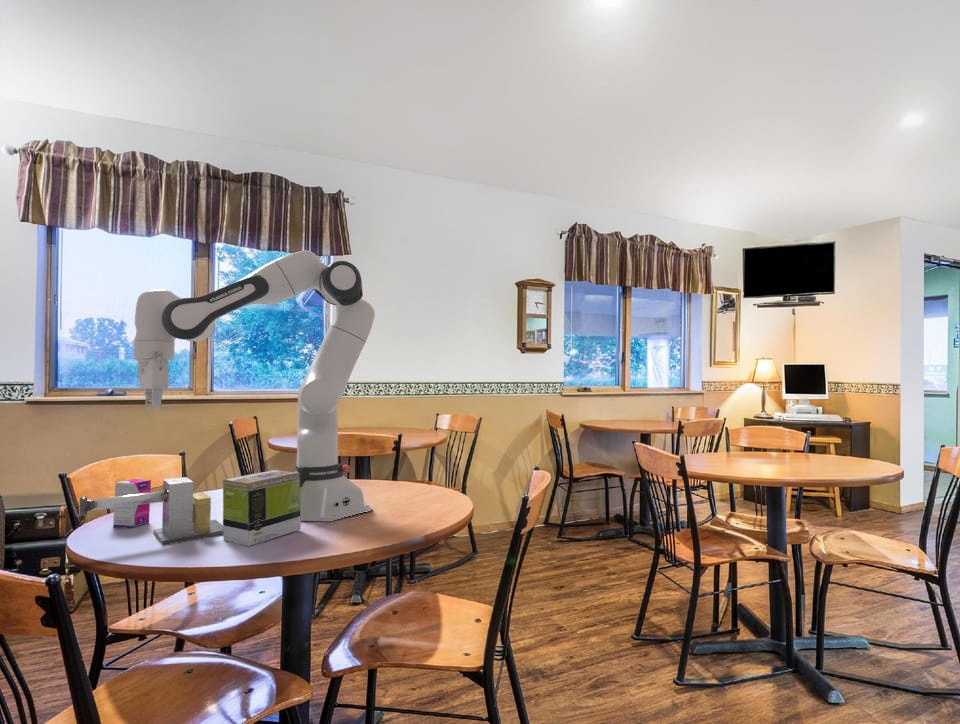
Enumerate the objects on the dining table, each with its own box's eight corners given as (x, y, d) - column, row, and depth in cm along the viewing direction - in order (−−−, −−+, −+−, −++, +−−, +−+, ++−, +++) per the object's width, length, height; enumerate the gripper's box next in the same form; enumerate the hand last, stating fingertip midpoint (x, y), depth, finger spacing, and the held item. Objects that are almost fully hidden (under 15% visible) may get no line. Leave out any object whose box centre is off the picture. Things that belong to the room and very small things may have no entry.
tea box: (275, 525, 136) (275, 468, 136) (301, 531, 131) (302, 472, 131) (221, 540, 123) (222, 477, 123) (247, 547, 118) (248, 481, 118)
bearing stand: (215, 523, 137) (216, 472, 138) (228, 533, 128) (229, 479, 129) (153, 533, 128) (154, 479, 129) (162, 545, 119) (163, 486, 120)
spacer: (202, 523, 133) (202, 492, 134) (210, 530, 127) (210, 497, 128) (189, 525, 132) (189, 493, 132) (196, 532, 125) (197, 499, 126)
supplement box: (131, 528, 133) (133, 483, 133) (112, 527, 134) (113, 482, 134) (150, 522, 138) (151, 479, 139) (131, 521, 140) (132, 478, 140)
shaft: (176, 501, 128) (177, 484, 128) (180, 504, 125) (180, 487, 125) (78, 514, 116) (79, 495, 116) (79, 517, 113) (80, 499, 113)
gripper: (176, 351, 128) (175, 407, 127) (161, 354, 143) (160, 404, 143) (146, 350, 124) (144, 408, 123) (134, 354, 139) (133, 405, 139)
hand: (153, 406), depth 133 cm, fingers open, 8 cm apart
